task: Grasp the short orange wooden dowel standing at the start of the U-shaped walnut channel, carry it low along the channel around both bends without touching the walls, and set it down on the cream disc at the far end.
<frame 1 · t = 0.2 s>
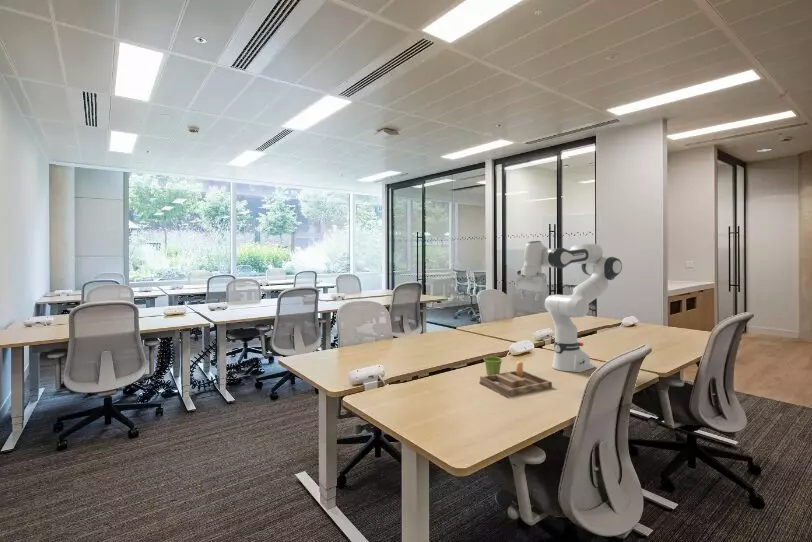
hand: (529, 299, 203), 38 cm above the table, tool pointing down, fingers open, 8 cm apart
dowel: (519, 378, 196), point 1 cm above the table, touching channel
plant pot: (493, 376, 204), on the table
channel: (515, 386, 188), on the table
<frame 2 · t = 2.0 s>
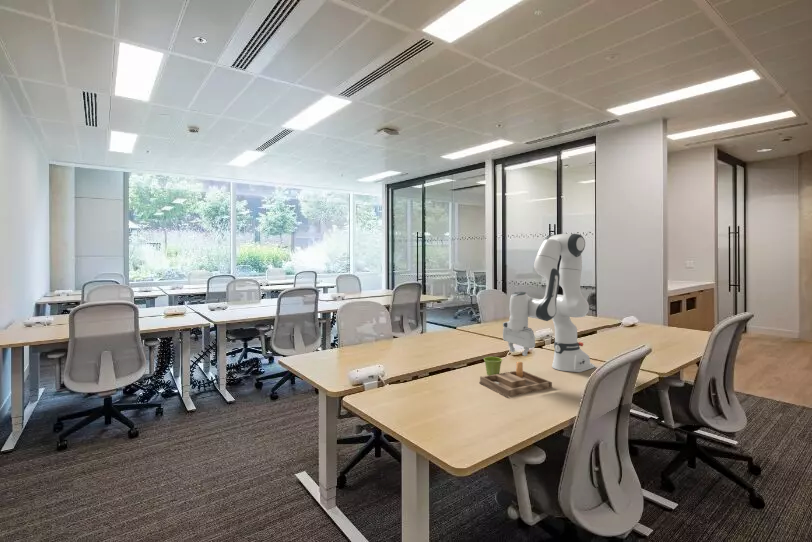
hand: (518, 353, 195), 13 cm above the table, tool pointing down, fingers open, 8 cm apart
nothing on the table moved.
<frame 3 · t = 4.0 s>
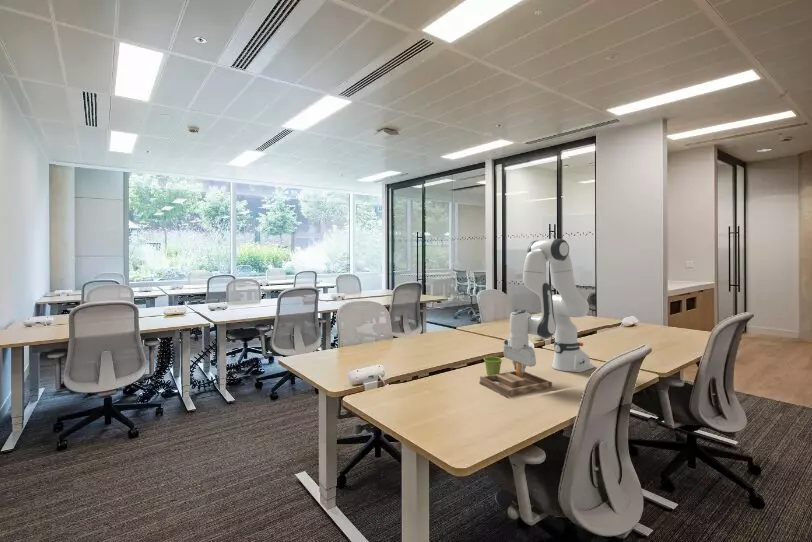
hand: (519, 371, 196), 5 cm above the table, tool pointing down, fingers closed on dowel, 3 cm apart
dowel: (519, 378, 196), point 1 cm above the table, touching channel, gripper
everything else where it was.
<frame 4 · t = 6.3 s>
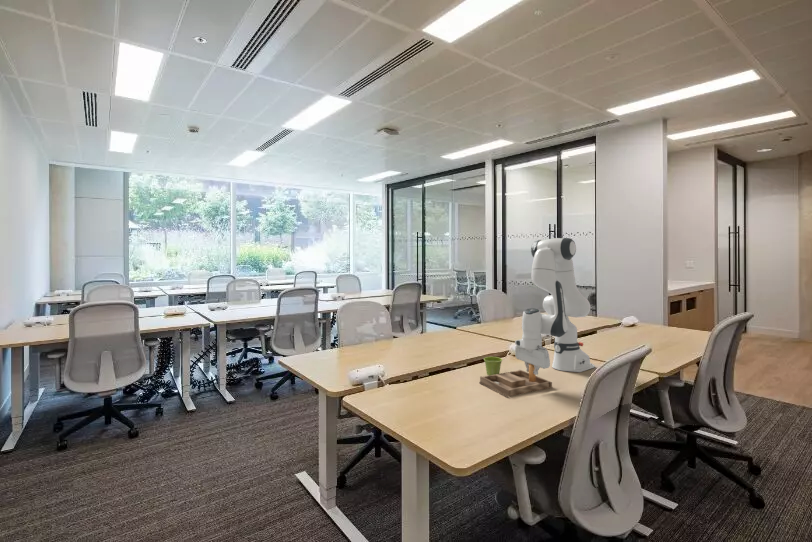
hand: (532, 373, 187), 6 cm above the table, tool pointing down, fingers closed on dowel, 3 cm apart
dowel: (532, 381, 187), point 2 cm above the table, touching gripper
everything else where it was.
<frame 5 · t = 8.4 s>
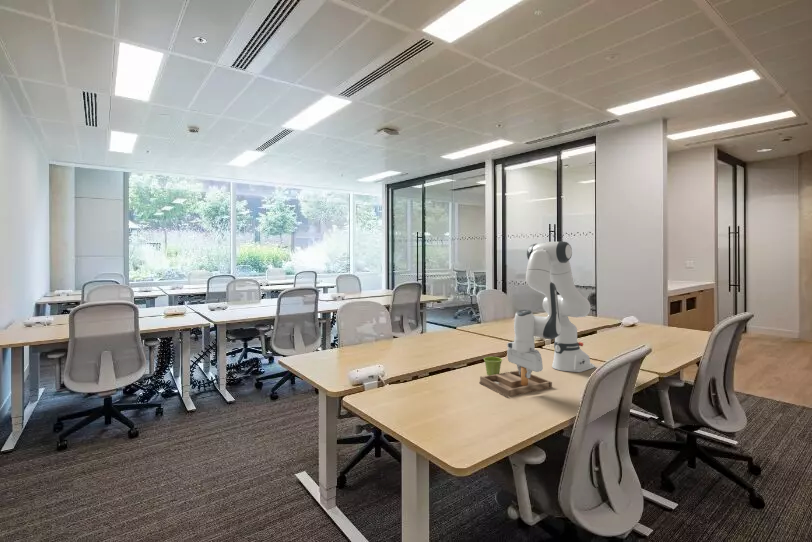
hand: (524, 376, 182), 6 cm above the table, tool pointing down, fingers closed on dowel, 3 cm apart
dowel: (524, 384, 182), point 3 cm above the table, touching gripper
everything else where it was.
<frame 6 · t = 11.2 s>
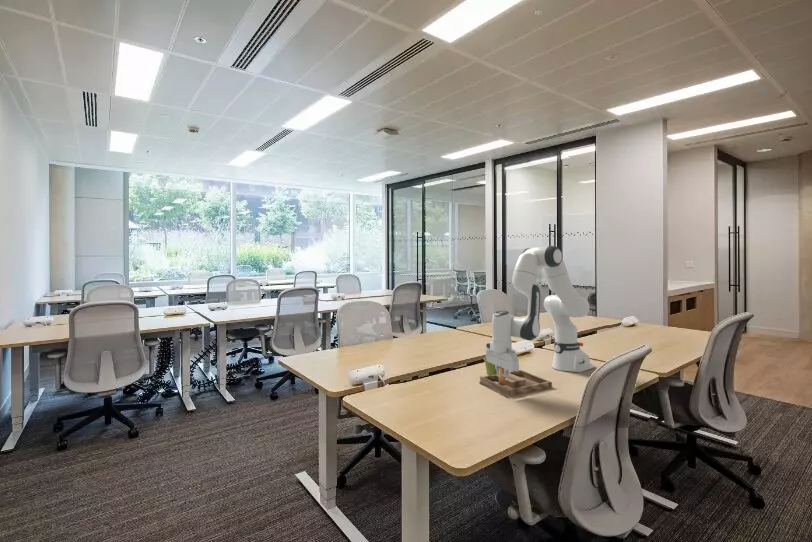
hand: (502, 376, 184), 6 cm above the table, tool pointing down, fingers closed on dowel, 3 cm apart
dowel: (502, 384, 184), point 2 cm above the table, touching gripper
everything else where it was.
when the fingers open (5 cm above the table, at t = 13.3 s): dowel stays where it is, resting on channel.
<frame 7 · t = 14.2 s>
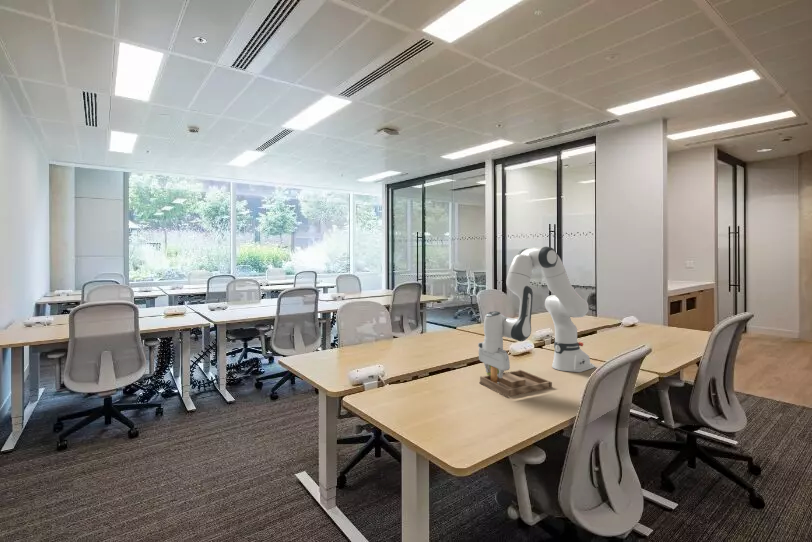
hand: (494, 375, 190), 5 cm above the table, tool pointing down, fingers open, 8 cm apart
dowel: (494, 383, 190), point 1 cm above the table, touching channel
everything else where it was.
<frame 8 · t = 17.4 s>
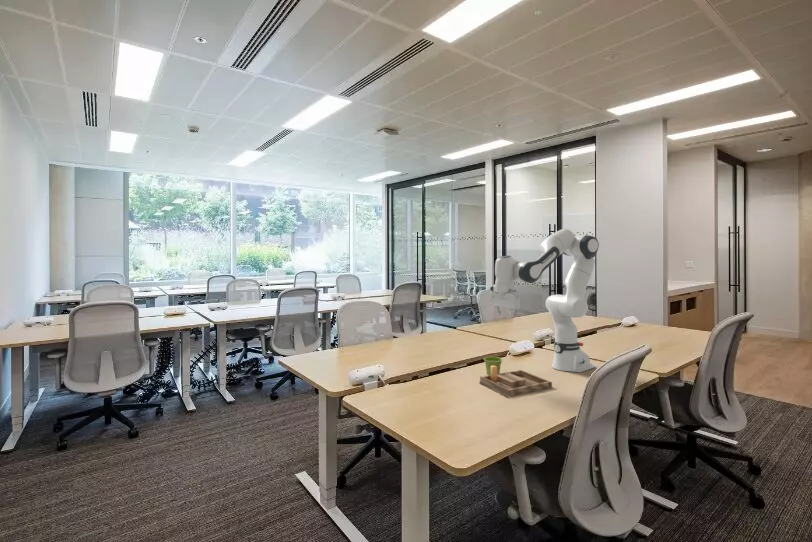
hand: (504, 315, 200), 31 cm above the table, tool pointing down, fingers open, 8 cm apart
nothing on the table moved.
at the end: dowel 0.0 cm from the target spot on the channel, point 0.9 cm above the channel's base; dowel tilted 0°; the gripper is holding nothing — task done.
